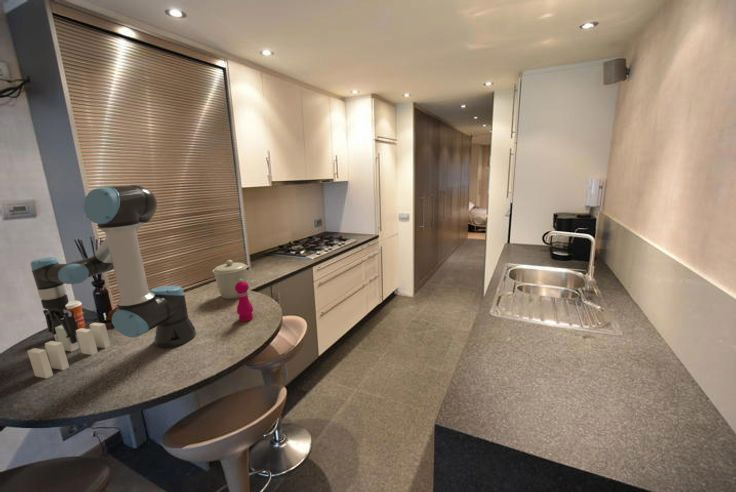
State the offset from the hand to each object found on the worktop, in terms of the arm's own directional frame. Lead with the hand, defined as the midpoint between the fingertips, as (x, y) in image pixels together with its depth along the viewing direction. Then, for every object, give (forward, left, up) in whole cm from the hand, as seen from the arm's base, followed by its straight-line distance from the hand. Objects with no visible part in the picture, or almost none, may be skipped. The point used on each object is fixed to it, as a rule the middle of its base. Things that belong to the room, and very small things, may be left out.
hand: (68, 348), depth 133 cm
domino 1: (-12, +15, 0) cm, 19 cm away
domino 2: (0, 0, 0) cm, 0 cm away
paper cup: (+14, -12, 0) cm, 18 cm away
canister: (-30, -64, 0) cm, 71 cm away
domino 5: (-12, -5, 0) cm, 13 cm away
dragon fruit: (+4, -24, 0) cm, 24 cm away
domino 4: (-12, 0, 0) cm, 12 cm away
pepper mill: (-56, -40, 0) cm, 69 cm away
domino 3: (-12, +10, 0) cm, 16 cm away
